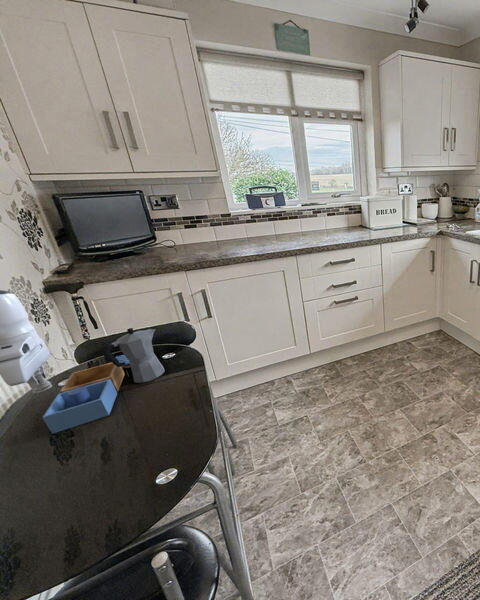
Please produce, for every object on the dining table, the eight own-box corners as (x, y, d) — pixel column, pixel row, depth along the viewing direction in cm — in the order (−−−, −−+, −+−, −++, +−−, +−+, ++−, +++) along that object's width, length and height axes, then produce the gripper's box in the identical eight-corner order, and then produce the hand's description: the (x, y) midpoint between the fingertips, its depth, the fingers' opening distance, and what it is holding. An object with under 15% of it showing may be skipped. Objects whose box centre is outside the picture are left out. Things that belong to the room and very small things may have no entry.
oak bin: (68, 406, 99) (59, 391, 97) (79, 387, 109) (72, 373, 107) (118, 391, 104) (111, 376, 102) (124, 374, 114) (118, 360, 112)
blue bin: (52, 434, 88) (42, 417, 86) (66, 409, 98) (58, 393, 96) (109, 415, 93) (101, 399, 91) (117, 393, 103) (110, 378, 101)
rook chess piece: (51, 390, 101) (39, 368, 98) (30, 396, 99) (18, 373, 96) (55, 384, 104) (43, 362, 101) (35, 389, 102) (23, 367, 99)
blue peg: (76, 417, 93) (65, 396, 90) (80, 409, 96) (69, 389, 94) (94, 411, 95) (83, 391, 92) (97, 403, 98) (87, 384, 95)
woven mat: (149, 352, 128) (147, 348, 128) (141, 365, 119) (139, 360, 118) (117, 360, 125) (114, 355, 124) (106, 373, 115) (104, 369, 115)
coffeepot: (162, 362, 120) (143, 318, 113) (177, 367, 115) (159, 321, 109) (113, 387, 107) (89, 338, 100) (127, 393, 103) (104, 343, 96)
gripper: (18, 333, 103) (38, 371, 107) (-16, 360, 86) (9, 403, 91) (45, 328, 105) (63, 364, 110) (17, 353, 89) (40, 395, 94)
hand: (39, 382), depth 100 cm, fingers closed on rook chess piece, 3 cm apart
